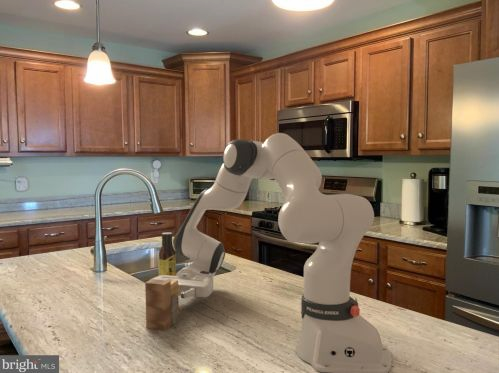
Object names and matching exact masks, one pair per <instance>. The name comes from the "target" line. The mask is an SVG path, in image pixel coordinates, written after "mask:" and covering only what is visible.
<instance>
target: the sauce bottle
mask: <svg viewBox="0 0 499 373" xmlns="http://www.w3.org/2000/svg"><path fill="white" fill-rule="evenodd" d="M173 236H174V235H173V232H162V233H161V247H160V248H159V251H158V276H160V275H170V276H176V274H177V270H176V269H177V266H176V265H177V259H176V258H177V256H176V255H177V252H176V251H175V248H174V245H173Z"/></svg>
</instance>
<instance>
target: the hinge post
mask: <svg viewBox="0 0 499 373" xmlns="http://www.w3.org/2000/svg"><path fill="white" fill-rule="evenodd" d="M144 284H145V285H144V287H145V326H146V327H145V328H146V329H154V330H159V331H160V330H161V331H167V330H168V329H169V328H170V327H171V326H174V325H175V324H176V323H177V322H178V316H177V295H172V296H171V281H167V280H157V279H153V278H150V279H149V280H148V281H146V282H145V283H144Z"/></svg>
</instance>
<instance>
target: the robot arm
mask: <svg viewBox="0 0 499 373" xmlns="http://www.w3.org/2000/svg"><path fill="white" fill-rule="evenodd" d="M322 174H323V173H322V171H321V170H320V168H319V167H318V166H317V164H316V163H315V161H314V160H312V158H311V157H310V156H309V155H308V153H307V152H306V151H305V149H304V148H303V147H302V146H301V145H300V144H299V143H298V141H296V140H295V139H294V138H293V137H291V136H290V135H288V134H287V133H284V132H277V133H273V134H272V135H270V136H268V137H267V138H266V139H265V141H264V142H262V141H256V140H248V139H243V138H242V139H241V138H238V139H233V140H230V141H229V142H228V143H227V145H226V146H225V148H224V150H223V153H222V164H221V167H220V168H219V170H218V173H217V174H216V177H215V181H214V182H213V185H212V186H211V187H210V188H205V189H204V190H202V191H201V192H200V193H199V195H198V196H197V198H196V200H195V201H194V203H193V205H192V206H191V208H190V210H189V212H188V214H187V215H186V217H185V219H184V221H183V223H182V225H181V226H180V227H179V229H178V231H177V232H176V233H175V235H174V238H172V245H173V248H174V251H175V253H176V254H177V253H178V254H180V255H183V256H185V257H187V258H189V259H191V260H193V262H191V263H190V264H189V265H187V266H185V267H183V268H181V269H180V270H178V271H177V272H176V276H170V275H160V276H159V275H158V276H155V277H153V278H152V279H157V280H168V279H173V280H178V296H180V298H181V299H187V298H190V297H194V298H195V297H197V298H208V297H210V296H211V294H212V293H213V292H214V277H215V275H216V274H217V272H218V271H219V269H220V268H221V267H222V264H223V262H224V261H225V257H226V249H225V247H224V244H223V242H221V241H218V240H217V239H215V238H213V237H211V236H209V235H207V234H205V233H203V232H201V231H199V230H198V228H197V226H198V224H199V223H200V221H201V219H202V217H203V216H204V214H205V212H206V211H207V210H208V211H209V210H212V211H213V210H214V211H223V212H224V211H232V210H235V209H237V208H239V207H240V206H241V205H242V204H243V203H244V201H245V199H246V196H247V195H248V192H249V189H250V186H251V182H252V180H253V179H254V180H269V181H275V182H276V183H277V185H278V187H279V188H280V190H281V192H282V194H283V197H284V201H285V202H284V203H283V205H282V206H281V208H280V210H279V212H278V219H277V221H278V222H277V223H278V228H279V231H280V233H281V235H282V236H283V237H284V238H285V240H286V241H288V242H290V243H295V244H296V243H297V244H305V245H306V244H307V245H310V244H318V245H317V248H316V249H315V251H314V252H313V254H312V255H310V257H309V258H307V260H306V261H305V263H304V266H303V293H302V295H301V300H300V308H301V309H300V314H301V320H302V321H301V327H300V328H301V329H300V335H299V337H298V338H299V339H298V342H297V346H296V348H295V349H296V354H297V356H298V357H299V358H300V359H301V360H303V361H304V362H306V363H308V364H309V365H311V366H312V368H314V369H315V370H316V371H317V372H320V373H390V371H391V370H392V366H393V360H392V353H391V352H390V350H389V348H388V347H387V346H386V345H384V344H383V343H382V342H383V341H382V338H381V335H380V333H379V330H378V328H376V327H375V325H373V324H372V323H371V322H369V321H368V320H367V319H366V318H364V317H363V316H362V315H361V314H360V311H361V309H360V307H359V303H358V300H357V298H353V297H351V296H350V294H351V292H350V291H351V274H352V266H353V260H354V258H355V255H356V253H357V249H358V247H359V245H360V243H361V241H362V239H363V238H364V236H365V235H366V234H367V233H368V232H369V231H370V230H371V228H372V227H373V226H374V220H375V212H374V208H373V206H372V203H370V201H369V200H368V199H367V198H365V197H363V196H361V195H356V194H350V193H339V194H338V193H337V194H324V193H322V192H321V191H320V190H319V189H320V187H321V185H322V177H323V176H322Z"/></svg>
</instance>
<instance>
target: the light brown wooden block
mask: <svg viewBox="0 0 499 373" xmlns="http://www.w3.org/2000/svg"><path fill="white" fill-rule="evenodd" d="M167 281H171V296H172V295H177V317H179V316H180V314H179V311H180V310H179V306H180V303H179V295H178V280H173V279H168V280H167Z"/></svg>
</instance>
